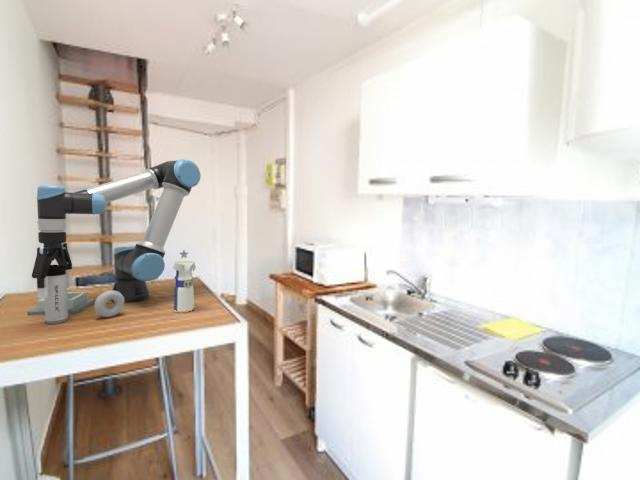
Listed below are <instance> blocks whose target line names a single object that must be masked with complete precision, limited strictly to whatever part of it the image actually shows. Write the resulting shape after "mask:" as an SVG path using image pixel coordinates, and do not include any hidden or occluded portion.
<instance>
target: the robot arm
mask: <svg viewBox="0 0 640 480" xmlns="http://www.w3.org/2000/svg"><path fill="white" fill-rule="evenodd" d="M200 181H201V171H200V168H199V166H198V165H197V164H196V163H195V162H194V161H192V160H190V159H189V160H188V159H183V158H182V159H181V158H180V159H178V160H169V161H168V160H167V161H165V162H161V163H160V164H157V165H154V166H152V167H149V168H146V169H145V171H144V172H141V173H136V174H131V175H130V176H129V175H128V176H126V177H122V178H120V179H115V180H111V181H109V182H104V183H102V184H98V185H95V186H91V187H88V188H85V189H82V190H78V191H77V190H76V191H74V192H69V191H68V192H67V191H66V188H65V186H61V185H48V184H47V185H44V184H43V185H42V184H41V185H39V186H38V187H37V194H36V195H37V196H36V203H37V204H36V206H37V221H36V223H37V224H38V225H37V227H38V231H39V232H38V235H37V237H38V243H40V244H43V247H42V246H41V247H40V246H39V247H37V248H36V255H35V257H36V258H35V261H34V265H33V269H32V273H31V278H32V279H36V295H37V296H36V297H37V298H40V299H42V298H47V297H48V278H46V275H47V273H48V270H49V267H50V265H52V262H54V261H56V263H57V265H62V266H65V267H66V271H65V272H66V283H67V289H68V288H70V270H72V269H73V263H72V259H71V256H70V253H69V249H68V244H67V243H66V242H67V232H66V231H67V215H93V216H95V215H103V214H104V213H105V211H106V208H107V204H108V203H111V202H114V201H117V200H121V199H124V198H126V197H129V196H132V195H136V194H139V193H142V192H145V191H147V190H151V189H153V190H155V191H156V190H158V189H163V190H162V192H161V195H160V198H159V200H158V202H157V204H156V207H155V209H154V212H153V214H152V217H151V219H150V221H149V223H148V226H147V228H146V230H145V232H144V235H143V237H142V240H140V241H139V242H136V244H135V245H134V246H133V245H131V246H130V245H129V246H117V247H116V248H114V253H113V262H114V264H113V265H114V266H113V267H114V270H113V271H114V282H113V286H112V289H111V290H114V291H118V292H119V293H121V294H122V295H123V297H124V301H125V302H124V303H132V302H133V301H134V302H139V301H143V299H144V300H146V298H147V299H149V297H150V290H149V286H148V284H147V282H150V281H154V280H156V279H158V278H159V277H160V276H161V275H162V274H163V273H164V271H165V266H166V263H165V260H164V258H165V255H166V251H165V250H164V249H165V248H164V246H165V244H166V242H167V240H168V237H169V235H170V232H171V230H172V228H173V225H174V222H175V220H176V217H177V215H178V212H179V210H180V208H181V205H182V203H183V201H184V199H185V197H186V196H189V195H190V194H191V193H190V192H191V191H192V188H194V187H196V186H197V185H198V184H199V183H200ZM110 301H112V302H114V300H112V299H110Z"/></svg>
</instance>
